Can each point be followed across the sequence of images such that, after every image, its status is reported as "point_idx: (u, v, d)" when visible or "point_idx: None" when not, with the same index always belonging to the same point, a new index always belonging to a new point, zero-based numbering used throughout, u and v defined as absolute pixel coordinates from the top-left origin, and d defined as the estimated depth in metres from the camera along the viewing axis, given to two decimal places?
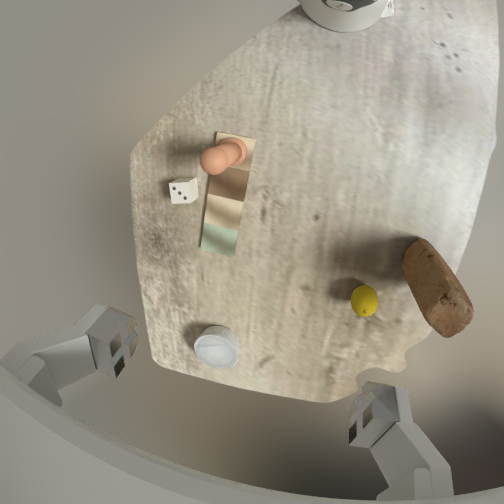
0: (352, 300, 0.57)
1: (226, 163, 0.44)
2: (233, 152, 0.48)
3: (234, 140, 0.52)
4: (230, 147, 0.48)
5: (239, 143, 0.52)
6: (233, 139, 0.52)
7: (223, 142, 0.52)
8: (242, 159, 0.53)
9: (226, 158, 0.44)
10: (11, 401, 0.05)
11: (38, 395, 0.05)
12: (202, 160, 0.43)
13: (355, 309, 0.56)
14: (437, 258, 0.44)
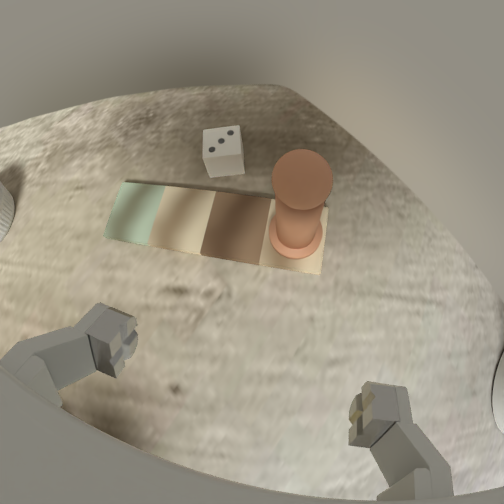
0: None
1: (300, 202, 0.20)
2: (308, 228, 0.25)
3: (318, 235, 0.29)
4: (317, 221, 0.25)
5: (313, 244, 0.29)
6: (319, 233, 0.29)
7: None
8: (282, 250, 0.29)
9: (311, 202, 0.20)
10: (11, 401, 0.05)
11: (38, 395, 0.05)
12: (308, 150, 0.19)
13: None
14: None
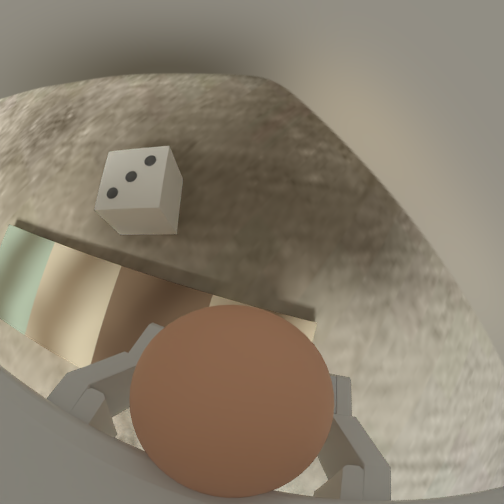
0: None
1: None
2: None
3: None
4: None
5: None
6: None
7: None
8: None
9: None
10: (11, 401, 0.05)
11: (38, 395, 0.05)
12: (256, 343, 0.05)
13: None
14: None
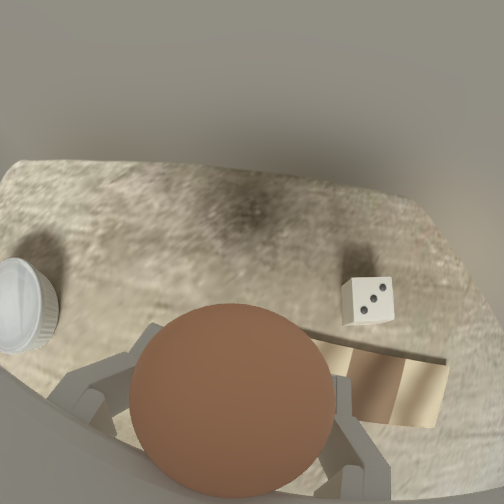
0: None
1: None
2: None
3: None
4: None
5: None
6: None
7: None
8: None
9: None
10: (11, 401, 0.05)
11: (38, 395, 0.05)
12: (256, 342, 0.05)
13: None
14: None
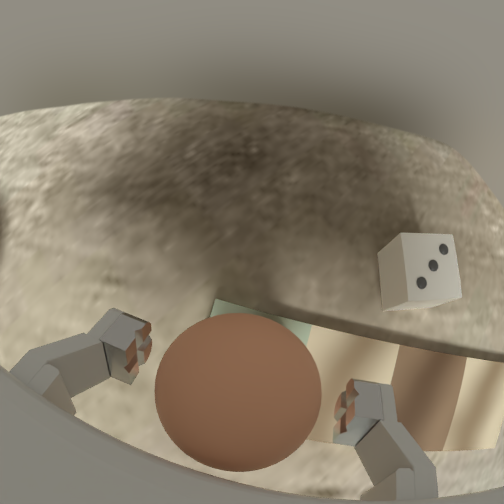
0: None
1: None
2: None
3: None
4: None
5: None
6: None
7: None
8: None
9: None
10: (11, 401, 0.05)
11: (38, 395, 0.05)
12: (258, 344, 0.06)
13: None
14: None
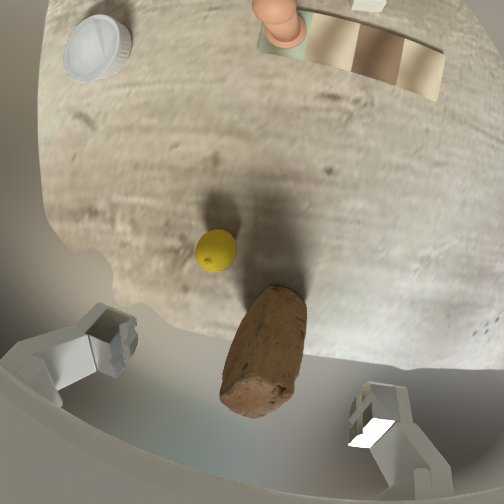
0: (216, 235, 0.41)
1: (270, 21, 0.23)
2: (287, 32, 0.27)
3: (302, 33, 0.30)
4: (293, 27, 0.26)
5: (298, 39, 0.31)
6: (303, 32, 0.30)
7: (299, 19, 0.29)
8: (274, 42, 0.31)
9: (278, 21, 0.23)
10: (11, 401, 0.05)
11: (38, 395, 0.05)
12: None
13: (206, 244, 0.40)
14: None
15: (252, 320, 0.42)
